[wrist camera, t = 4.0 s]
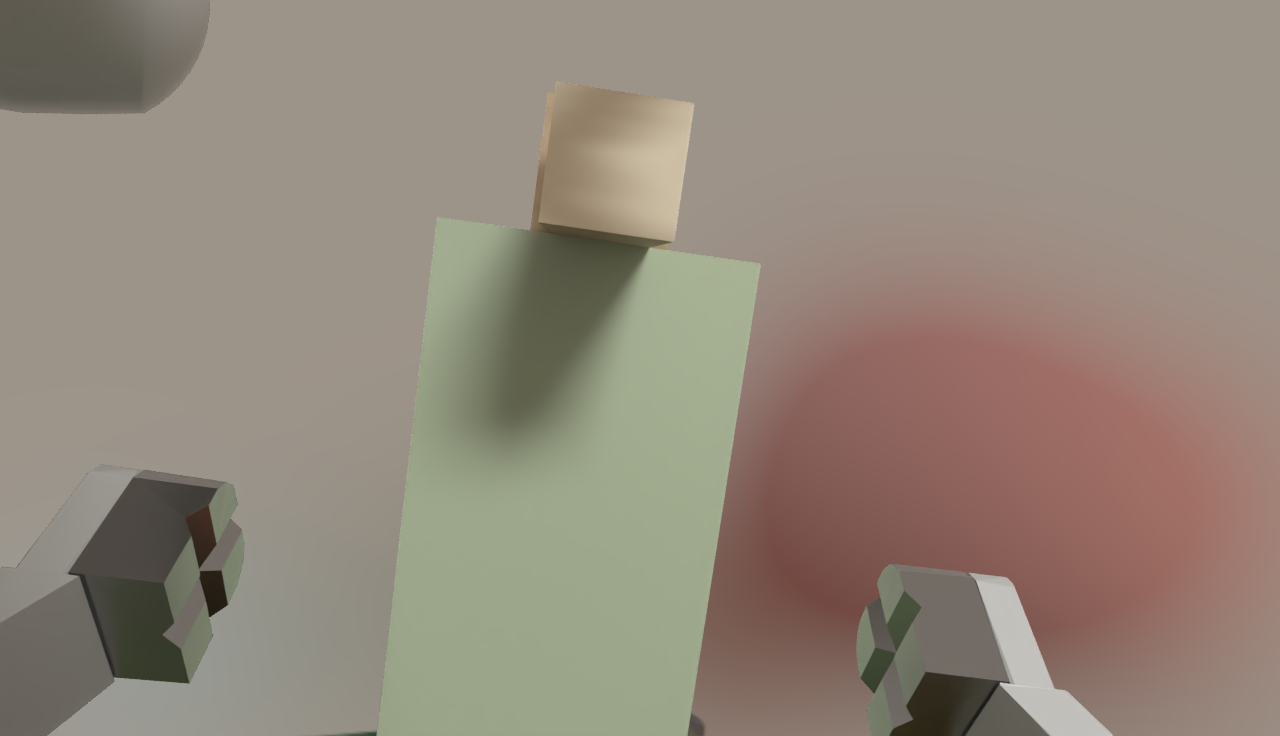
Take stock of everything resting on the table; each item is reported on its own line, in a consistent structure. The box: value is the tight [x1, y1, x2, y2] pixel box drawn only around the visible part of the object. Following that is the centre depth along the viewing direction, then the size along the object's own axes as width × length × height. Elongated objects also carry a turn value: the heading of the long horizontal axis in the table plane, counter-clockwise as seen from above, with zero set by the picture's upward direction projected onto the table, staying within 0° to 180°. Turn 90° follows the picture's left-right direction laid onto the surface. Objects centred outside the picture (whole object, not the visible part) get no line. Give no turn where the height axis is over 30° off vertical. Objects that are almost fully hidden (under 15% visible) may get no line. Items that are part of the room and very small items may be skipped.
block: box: [531, 82, 694, 250], centre depth 28 cm, size 5×18×5 cm, turn 3°
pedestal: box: [377, 217, 761, 736], centre depth 34 cm, size 10×10×26 cm
